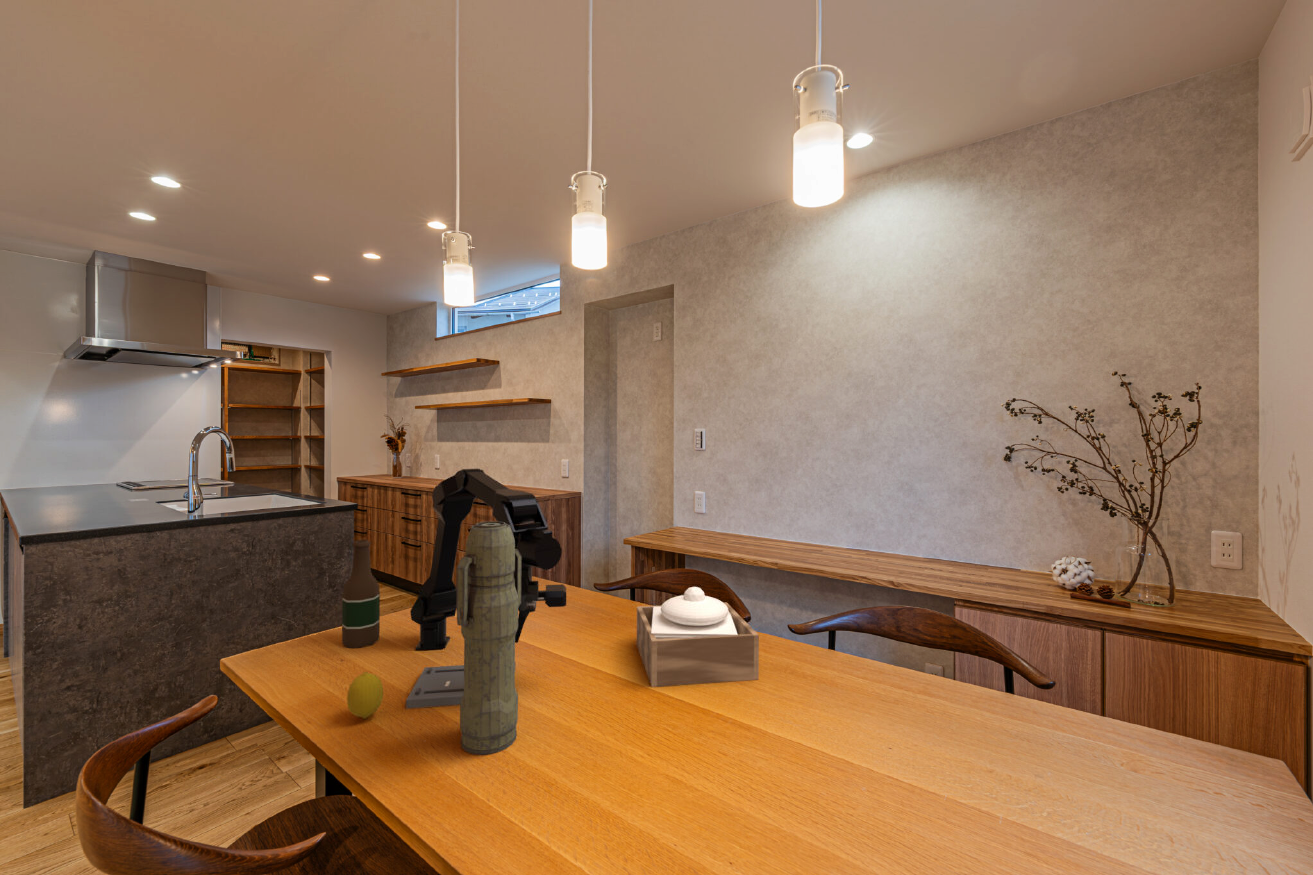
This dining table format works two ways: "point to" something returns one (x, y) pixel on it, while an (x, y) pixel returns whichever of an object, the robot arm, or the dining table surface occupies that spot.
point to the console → (438, 687)
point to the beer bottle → (360, 601)
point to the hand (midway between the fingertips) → (515, 641)
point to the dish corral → (697, 654)
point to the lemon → (365, 695)
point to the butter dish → (692, 617)
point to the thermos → (489, 637)
